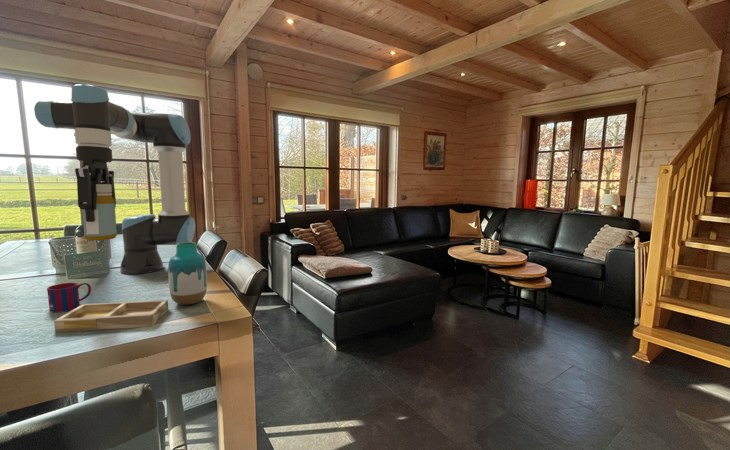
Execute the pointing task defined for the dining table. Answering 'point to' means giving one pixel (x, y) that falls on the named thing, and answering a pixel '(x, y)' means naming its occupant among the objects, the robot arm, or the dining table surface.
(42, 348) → the dining table surface
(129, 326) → the caddy
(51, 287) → the mug
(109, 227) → the bottle
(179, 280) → the vase
